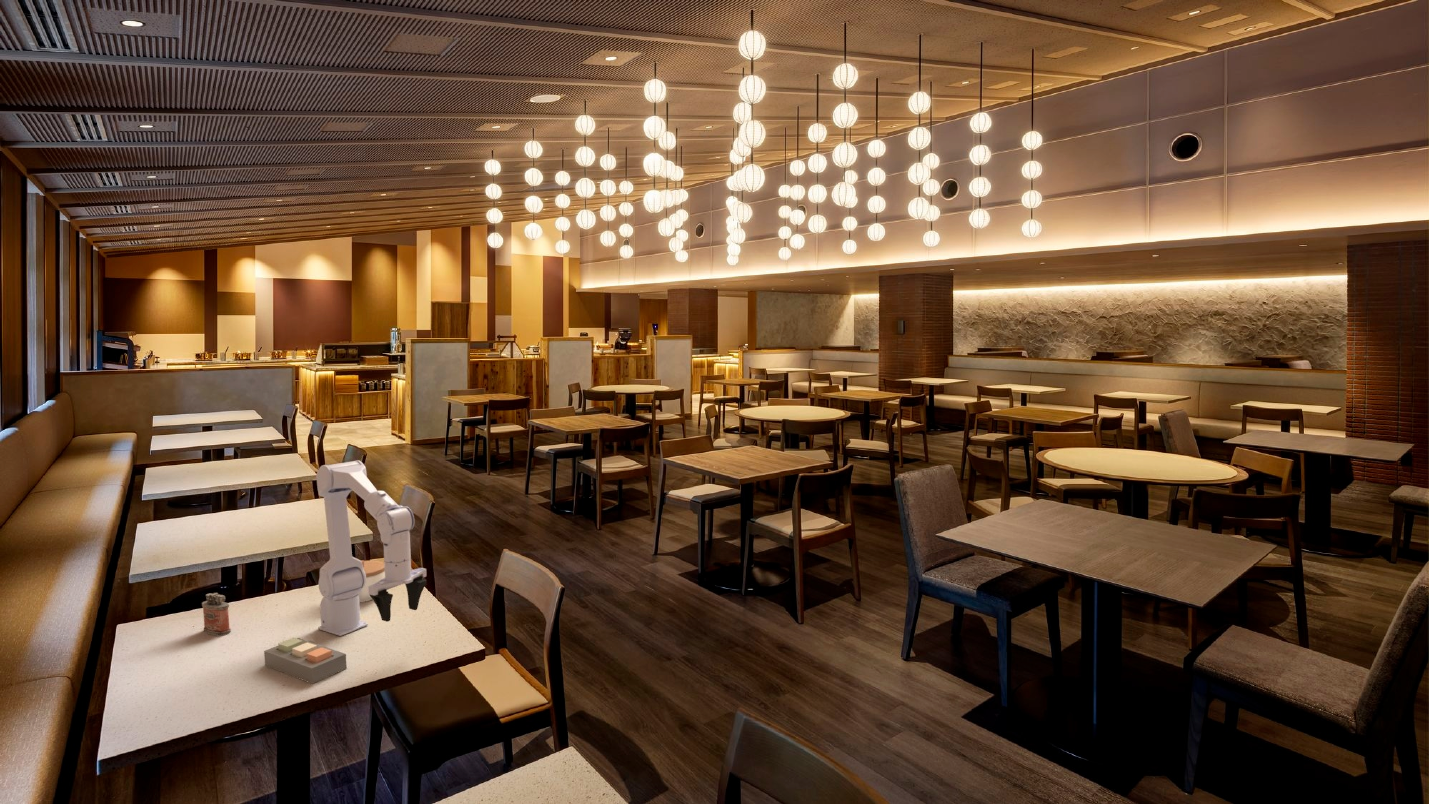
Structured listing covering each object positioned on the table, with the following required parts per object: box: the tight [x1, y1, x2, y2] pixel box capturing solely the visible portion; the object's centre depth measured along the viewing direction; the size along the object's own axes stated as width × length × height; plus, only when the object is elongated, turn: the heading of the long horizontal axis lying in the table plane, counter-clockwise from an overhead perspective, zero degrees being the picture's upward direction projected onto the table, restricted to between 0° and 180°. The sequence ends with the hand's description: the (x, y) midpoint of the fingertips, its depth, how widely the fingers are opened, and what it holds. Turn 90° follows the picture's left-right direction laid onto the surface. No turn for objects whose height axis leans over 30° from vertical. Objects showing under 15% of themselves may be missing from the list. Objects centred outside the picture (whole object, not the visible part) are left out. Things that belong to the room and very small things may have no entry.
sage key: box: [277, 637, 303, 653], centre depth 166 cm, size 4×4×2 cm
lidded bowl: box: [359, 559, 385, 603], centre depth 205 cm, size 13×13×11 cm
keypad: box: [263, 637, 347, 685], centre depth 163 cm, size 18×8×4 cm, turn 62°
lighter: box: [201, 592, 231, 637], centre depth 182 cm, size 8×3×10 cm, turn 68°
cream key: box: [292, 642, 317, 658], centre depth 163 cm, size 4×4×2 cm
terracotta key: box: [306, 647, 332, 664], centre depth 161 cm, size 4×4×2 cm
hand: (399, 614), depth 169 cm, fingers open, 7 cm apart
